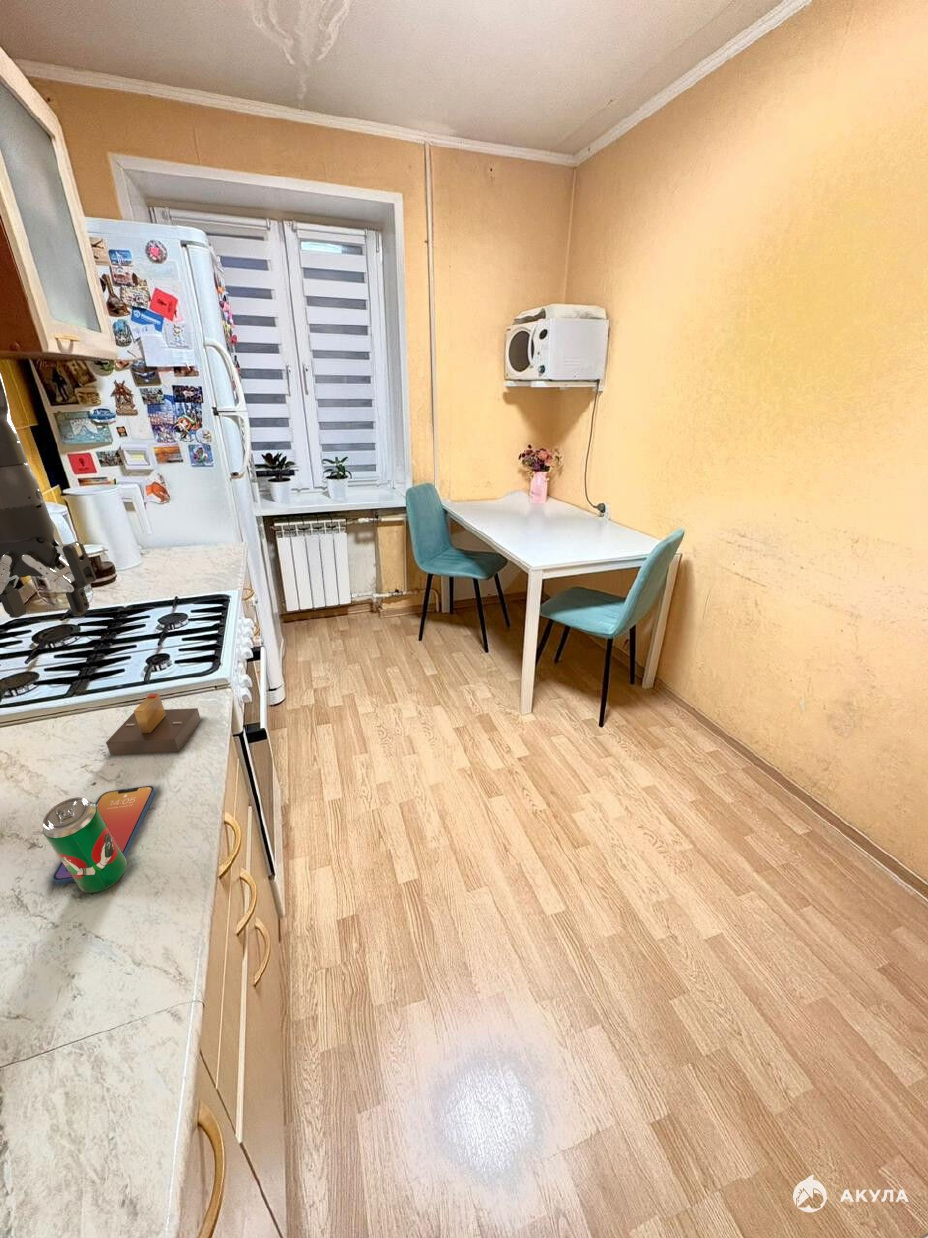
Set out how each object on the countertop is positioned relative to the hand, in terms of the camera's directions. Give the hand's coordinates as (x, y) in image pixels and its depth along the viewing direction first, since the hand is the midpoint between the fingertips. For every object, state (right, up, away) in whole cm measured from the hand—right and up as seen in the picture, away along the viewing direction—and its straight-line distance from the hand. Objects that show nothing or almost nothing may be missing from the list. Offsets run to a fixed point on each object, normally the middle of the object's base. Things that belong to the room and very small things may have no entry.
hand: (50, 614), depth 71 cm
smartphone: (+11, -30, -3) cm, 32 cm away
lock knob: (+6, -19, +14) cm, 24 cm away
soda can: (+15, -33, -9) cm, 37 cm away
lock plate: (+6, -21, +16) cm, 27 cm away
